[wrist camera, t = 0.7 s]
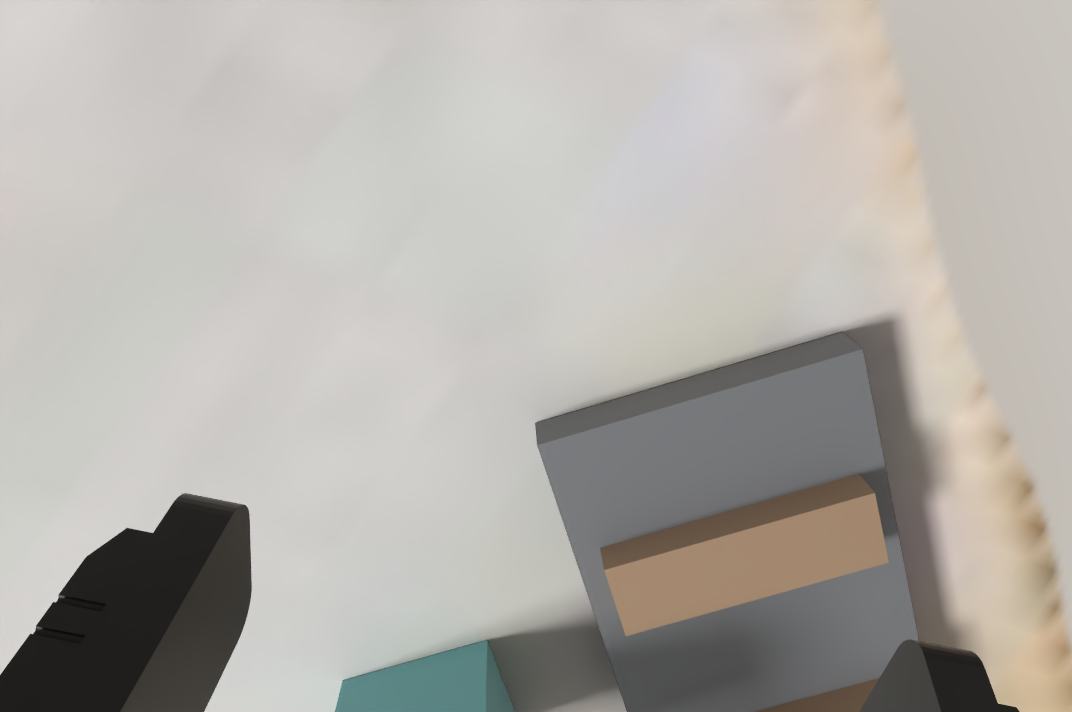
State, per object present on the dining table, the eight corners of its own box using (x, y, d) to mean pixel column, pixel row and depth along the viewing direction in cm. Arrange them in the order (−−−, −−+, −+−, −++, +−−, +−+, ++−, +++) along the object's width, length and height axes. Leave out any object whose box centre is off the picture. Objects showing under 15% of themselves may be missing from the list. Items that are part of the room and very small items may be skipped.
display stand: (535, 423, 34) (539, 463, 31) (842, 331, 33) (880, 363, 30) (674, 839, 41) (689, 908, 38) (929, 772, 40) (968, 836, 37)
